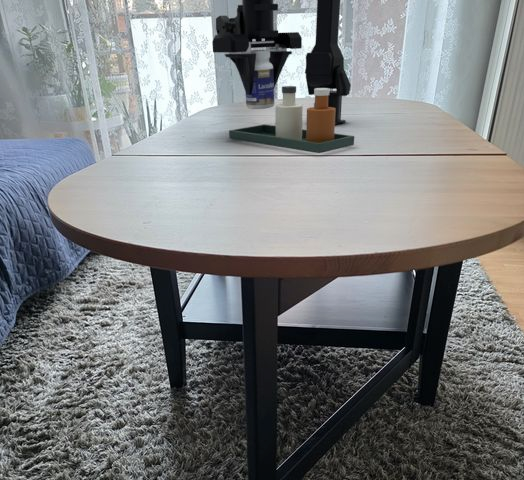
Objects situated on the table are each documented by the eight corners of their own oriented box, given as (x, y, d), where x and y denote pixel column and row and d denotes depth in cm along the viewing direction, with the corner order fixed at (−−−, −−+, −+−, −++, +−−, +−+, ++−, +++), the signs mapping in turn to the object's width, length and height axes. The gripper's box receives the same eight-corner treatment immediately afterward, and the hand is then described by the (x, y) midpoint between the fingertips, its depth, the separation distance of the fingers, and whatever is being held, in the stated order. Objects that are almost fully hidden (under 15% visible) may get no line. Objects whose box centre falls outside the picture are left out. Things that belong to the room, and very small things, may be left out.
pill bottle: (263, 110, 99) (260, 51, 93) (240, 109, 102) (236, 51, 96) (280, 105, 103) (278, 48, 97) (258, 104, 106) (254, 49, 100)
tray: (264, 134, 111) (264, 124, 110) (353, 147, 96) (354, 136, 95) (229, 141, 105) (228, 130, 104) (318, 156, 90) (319, 143, 89)
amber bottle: (318, 142, 98) (320, 86, 93) (339, 145, 95) (342, 88, 90) (300, 146, 95) (301, 89, 90) (321, 149, 92) (323, 90, 87)
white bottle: (288, 137, 103) (288, 85, 98) (307, 140, 100) (308, 86, 95) (270, 141, 100) (269, 87, 95) (289, 144, 97) (289, 88, 92)
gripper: (263, 1, 103) (264, 87, 111) (190, -1, 92) (198, 95, 100) (304, -3, 96) (302, 89, 104) (230, -5, 85) (235, 98, 94)
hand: (260, 93), depth 101 cm, fingers closed on pill bottle, 6 cm apart
